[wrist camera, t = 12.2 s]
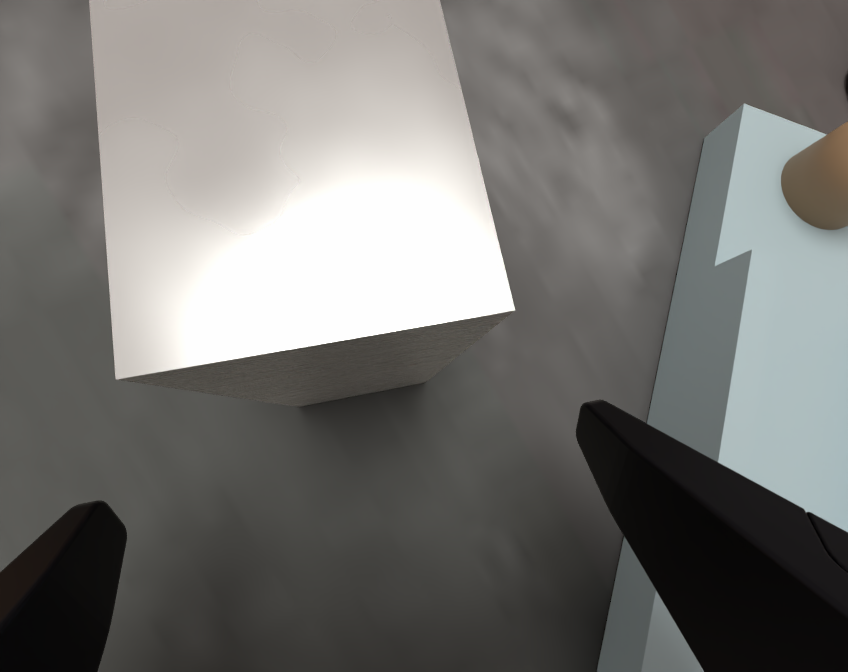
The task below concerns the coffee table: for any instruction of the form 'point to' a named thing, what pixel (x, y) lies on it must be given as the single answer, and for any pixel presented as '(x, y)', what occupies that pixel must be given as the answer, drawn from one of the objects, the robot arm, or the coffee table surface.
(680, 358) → the blue stand
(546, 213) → the coffee table surface
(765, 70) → the coffee table surface
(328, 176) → the white rectangular block
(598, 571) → the coffee table surface
